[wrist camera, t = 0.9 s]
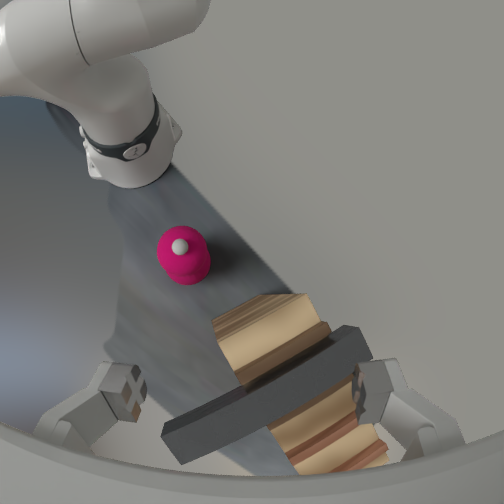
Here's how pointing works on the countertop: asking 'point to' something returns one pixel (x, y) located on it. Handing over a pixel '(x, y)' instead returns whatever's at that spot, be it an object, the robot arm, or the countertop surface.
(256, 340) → the shelf stand
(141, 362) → the countertop surface
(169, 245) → the pepper mill
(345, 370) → the dark gray plank
